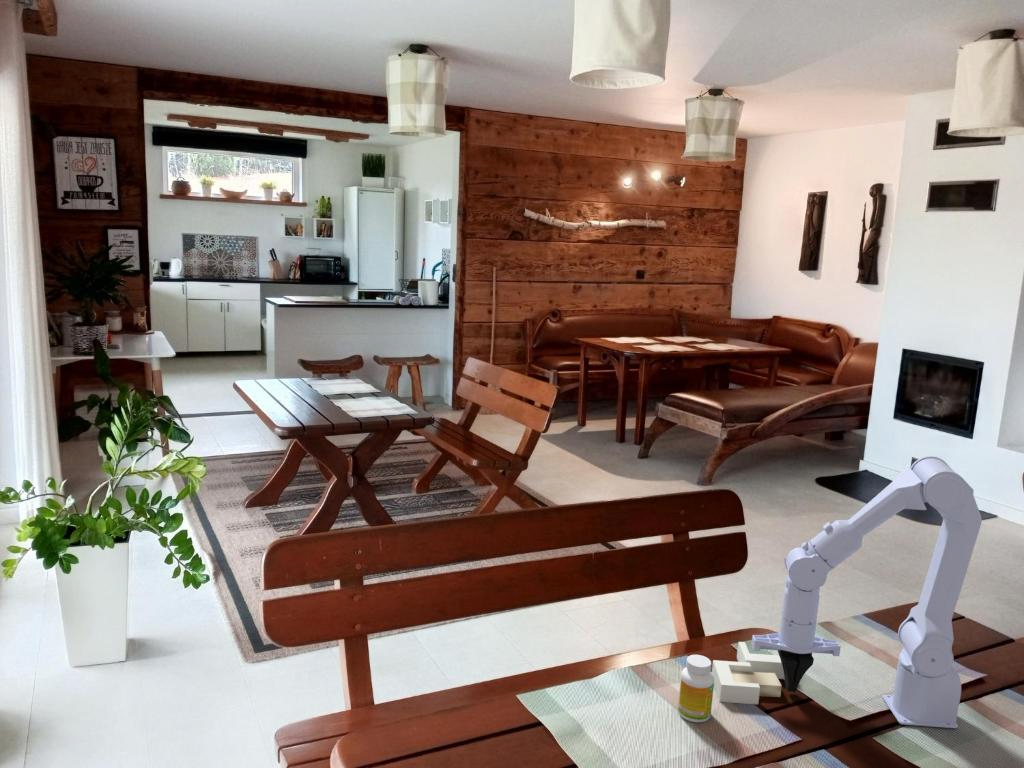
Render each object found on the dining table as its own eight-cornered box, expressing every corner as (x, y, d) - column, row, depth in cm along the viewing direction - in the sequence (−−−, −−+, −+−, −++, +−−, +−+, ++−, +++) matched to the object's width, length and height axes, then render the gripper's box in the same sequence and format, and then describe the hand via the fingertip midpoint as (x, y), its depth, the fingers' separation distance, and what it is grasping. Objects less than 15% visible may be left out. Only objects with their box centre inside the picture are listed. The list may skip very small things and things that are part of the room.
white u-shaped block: (736, 657, 153) (738, 641, 152) (779, 660, 153) (780, 644, 152) (744, 676, 147) (746, 660, 146) (788, 679, 146) (790, 663, 146)
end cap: (747, 678, 146) (749, 662, 145) (758, 704, 138) (760, 687, 138) (711, 676, 146) (713, 660, 146) (719, 701, 138) (721, 684, 138)
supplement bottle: (711, 725, 132) (716, 671, 130) (677, 720, 133) (682, 666, 131) (709, 707, 137) (715, 654, 135) (677, 702, 138) (682, 650, 136)
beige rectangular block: (773, 685, 145) (774, 673, 144) (780, 698, 141) (781, 685, 140) (728, 683, 145) (729, 670, 144) (734, 696, 141) (735, 683, 140)
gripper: (834, 608, 142) (825, 678, 145) (750, 603, 143) (743, 673, 146) (848, 628, 135) (838, 701, 138) (760, 622, 136) (752, 695, 139)
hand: (790, 688), depth 141 cm, fingers closed
